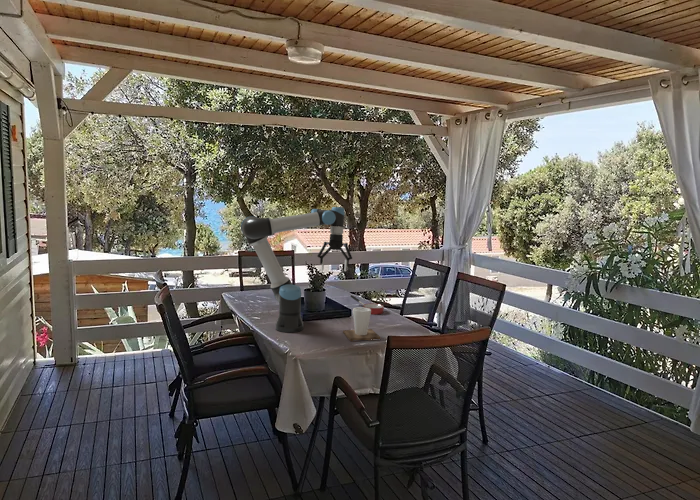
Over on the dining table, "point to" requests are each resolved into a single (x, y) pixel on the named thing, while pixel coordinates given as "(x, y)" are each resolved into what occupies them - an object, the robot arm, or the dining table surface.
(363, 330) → the foam cup
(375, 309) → the frying pan
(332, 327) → the dining table surface
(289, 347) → the dining table surface
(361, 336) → the walnut board
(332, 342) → the dining table surface
